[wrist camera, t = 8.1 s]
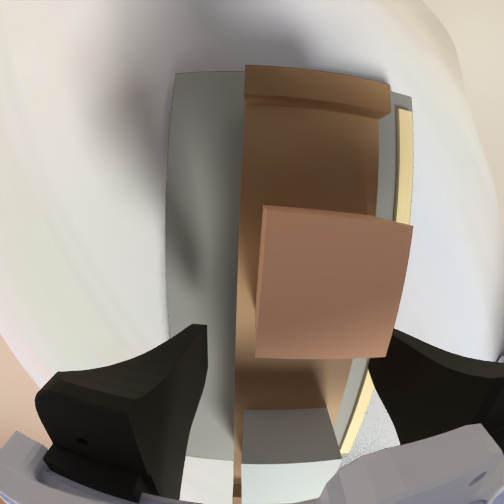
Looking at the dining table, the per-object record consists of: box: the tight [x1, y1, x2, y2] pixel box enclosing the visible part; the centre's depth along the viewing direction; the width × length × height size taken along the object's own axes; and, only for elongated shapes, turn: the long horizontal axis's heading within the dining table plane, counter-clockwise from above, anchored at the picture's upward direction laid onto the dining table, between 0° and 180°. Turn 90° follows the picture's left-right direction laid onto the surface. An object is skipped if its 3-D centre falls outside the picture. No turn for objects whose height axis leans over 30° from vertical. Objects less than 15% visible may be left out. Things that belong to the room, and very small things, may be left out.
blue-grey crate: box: [241, 408, 342, 504], centre depth 9 cm, size 4×4×3 cm
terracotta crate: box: [255, 205, 413, 359], centre depth 8 cm, size 4×4×3 cm
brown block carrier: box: [233, 65, 391, 504], centre depth 12 cm, size 20×4×5 cm, turn 177°
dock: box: [166, 71, 413, 461], centre depth 15 cm, size 12×24×2 cm, turn 177°
